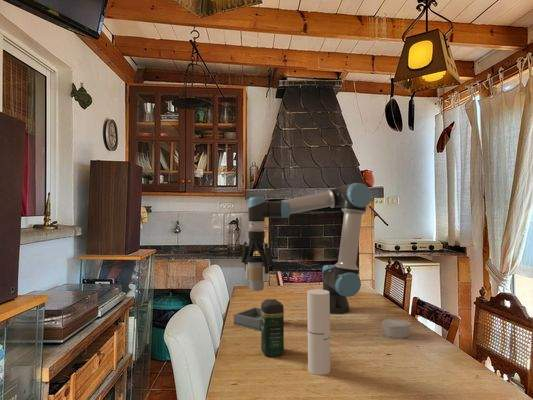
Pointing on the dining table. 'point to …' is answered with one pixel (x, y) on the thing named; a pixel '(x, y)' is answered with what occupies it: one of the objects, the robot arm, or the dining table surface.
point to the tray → (249, 318)
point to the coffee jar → (272, 327)
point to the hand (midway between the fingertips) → (256, 279)
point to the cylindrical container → (318, 331)
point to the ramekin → (396, 328)
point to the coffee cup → (255, 273)
